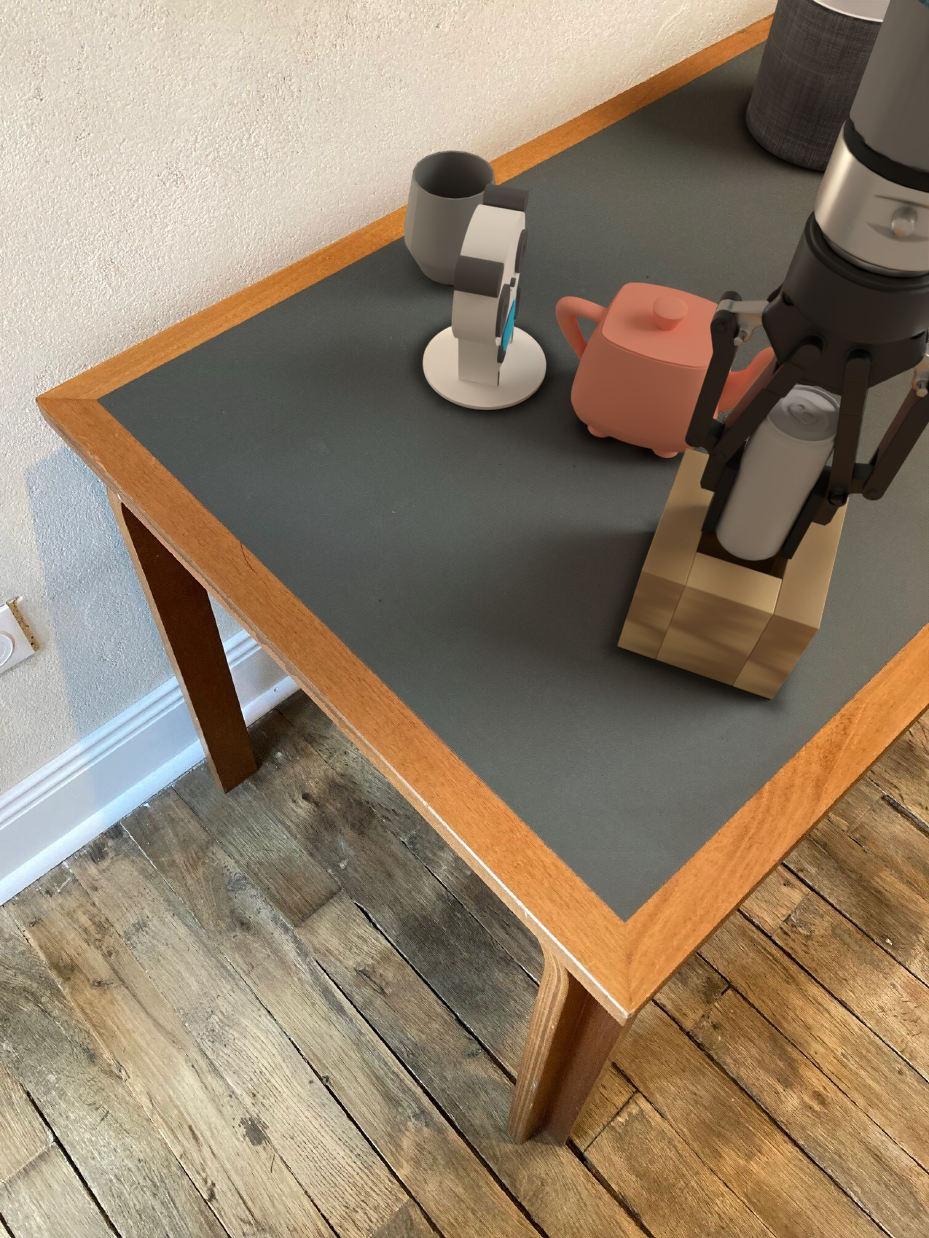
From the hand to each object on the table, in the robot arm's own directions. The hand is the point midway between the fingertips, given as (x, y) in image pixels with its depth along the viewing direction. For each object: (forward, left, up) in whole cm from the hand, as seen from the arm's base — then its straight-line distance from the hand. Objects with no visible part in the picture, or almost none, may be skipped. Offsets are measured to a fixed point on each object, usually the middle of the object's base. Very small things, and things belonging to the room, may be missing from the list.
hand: (749, 530), depth 64 cm
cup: (+34, -30, -10) cm, 47 cm away
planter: (+4, -70, -10) cm, 71 cm away
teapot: (+10, -18, -10) cm, 23 cm away
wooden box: (0, 0, -10) cm, 10 cm away
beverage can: (0, 0, -1) cm, 1 cm away
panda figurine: (+26, -18, -10) cm, 33 cm away
